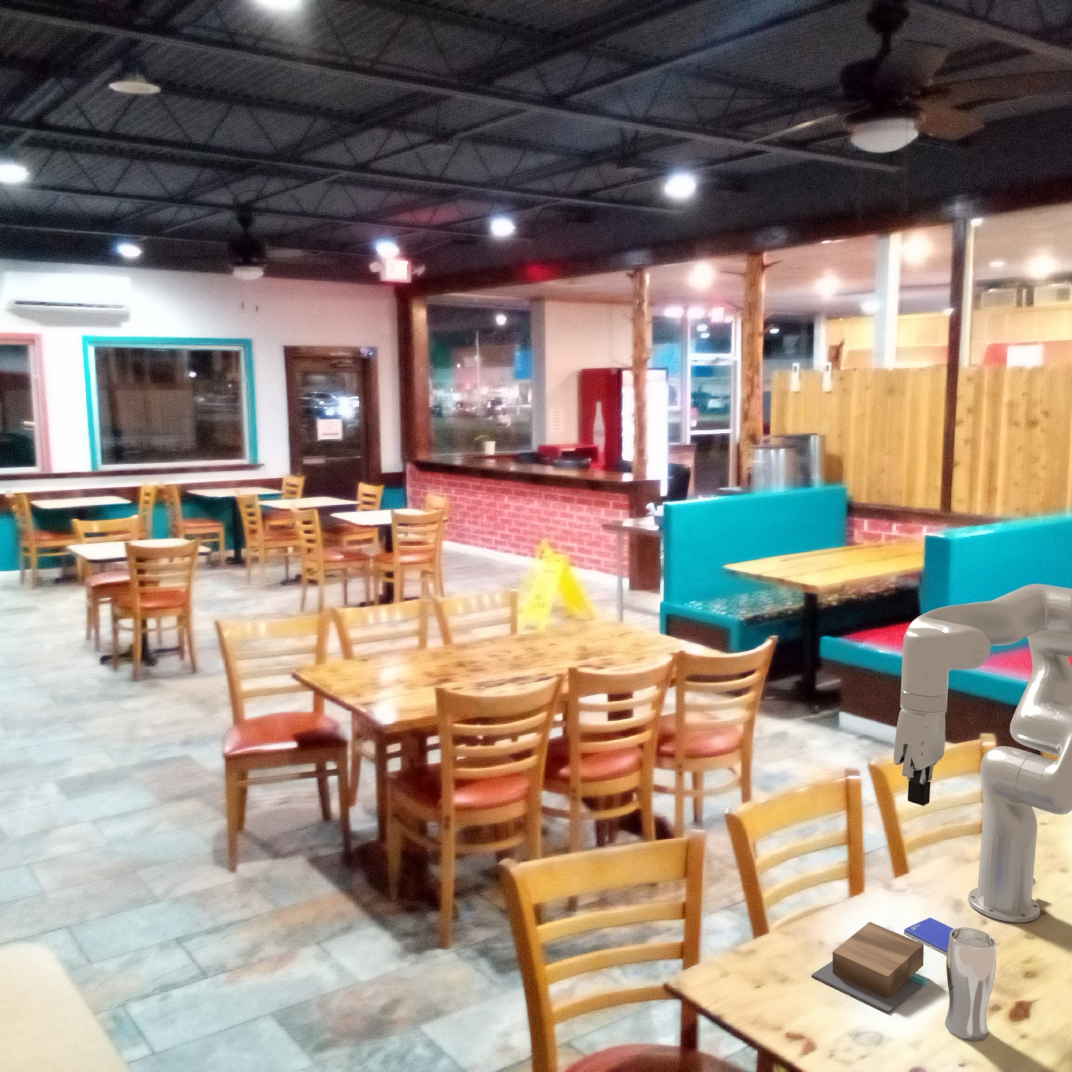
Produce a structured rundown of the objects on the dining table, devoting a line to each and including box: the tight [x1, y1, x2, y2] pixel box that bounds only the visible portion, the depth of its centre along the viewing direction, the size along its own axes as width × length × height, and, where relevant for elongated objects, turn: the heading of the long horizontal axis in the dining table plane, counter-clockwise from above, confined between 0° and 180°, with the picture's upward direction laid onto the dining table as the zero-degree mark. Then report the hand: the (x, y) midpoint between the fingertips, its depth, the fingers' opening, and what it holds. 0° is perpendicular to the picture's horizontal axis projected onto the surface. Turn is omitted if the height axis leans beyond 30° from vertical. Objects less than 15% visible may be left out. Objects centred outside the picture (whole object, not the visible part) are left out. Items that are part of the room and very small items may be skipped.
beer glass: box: [944, 926, 997, 1042], centre depth 156 cm, size 7×7×15 cm
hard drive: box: [903, 917, 954, 956], centre depth 182 cm, size 2×8×12 cm
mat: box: [811, 960, 923, 1015], centre depth 169 cm, size 11×14×1 cm
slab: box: [832, 921, 925, 999], centre depth 171 cm, size 4×10×12 cm
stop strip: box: [908, 972, 928, 988], centre depth 173 cm, size 1×14×1 cm, turn 42°
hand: (918, 802), depth 176 cm, fingers closed
